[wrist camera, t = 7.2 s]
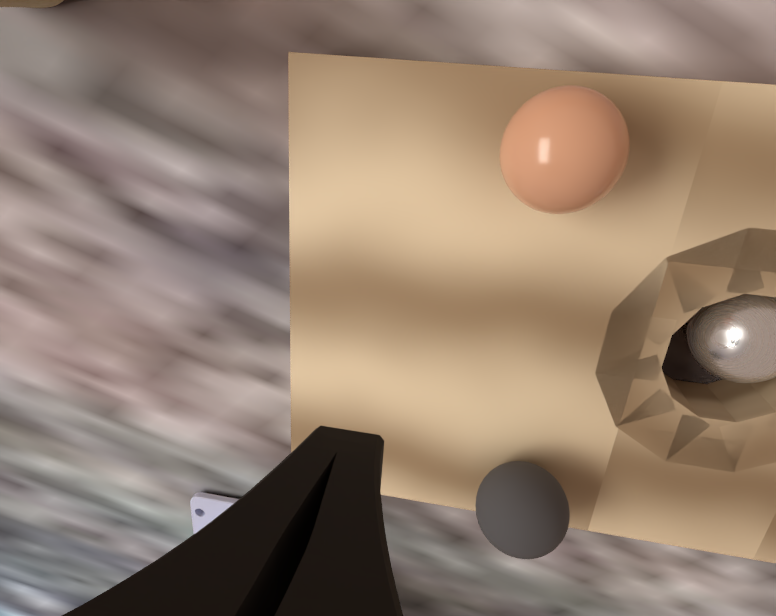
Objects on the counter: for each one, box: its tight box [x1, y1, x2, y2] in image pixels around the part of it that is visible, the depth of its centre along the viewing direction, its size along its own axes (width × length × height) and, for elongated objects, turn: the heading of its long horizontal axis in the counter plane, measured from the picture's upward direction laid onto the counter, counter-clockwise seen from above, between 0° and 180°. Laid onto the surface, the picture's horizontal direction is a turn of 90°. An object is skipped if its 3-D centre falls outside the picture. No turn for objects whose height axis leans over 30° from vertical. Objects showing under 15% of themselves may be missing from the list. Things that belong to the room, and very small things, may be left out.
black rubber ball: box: [475, 461, 570, 559], centre depth 18 cm, size 3×3×3 cm
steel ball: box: [686, 294, 776, 383], centre depth 17 cm, size 3×3×3 cm
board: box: [288, 52, 776, 563], centre depth 18 cm, size 16×20×2 cm
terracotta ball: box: [499, 85, 630, 214], centre depth 13 cm, size 3×3×3 cm
